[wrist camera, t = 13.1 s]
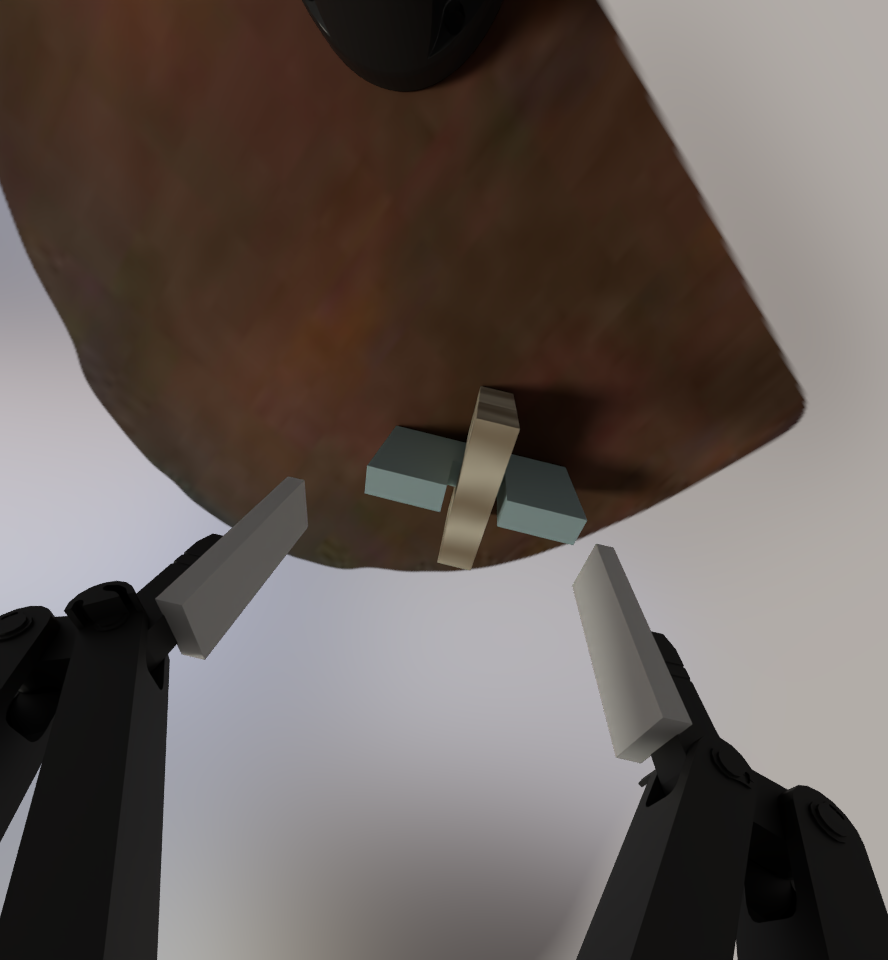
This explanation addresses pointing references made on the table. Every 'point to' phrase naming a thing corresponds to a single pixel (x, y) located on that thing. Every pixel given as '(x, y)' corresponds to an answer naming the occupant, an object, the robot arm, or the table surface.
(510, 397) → the beige bar
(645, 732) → the robot arm
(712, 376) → the table surface
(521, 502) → the base plate
